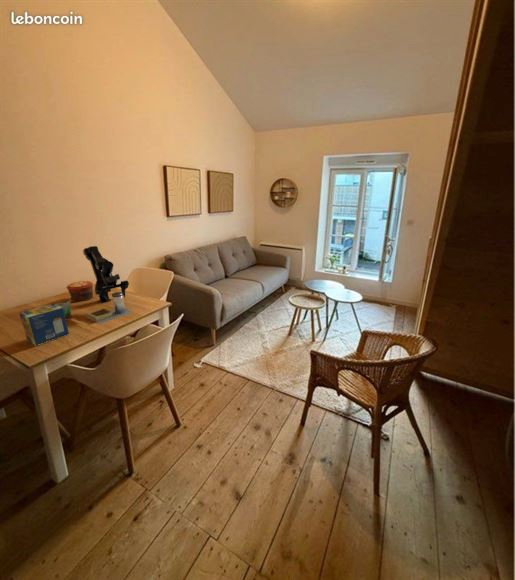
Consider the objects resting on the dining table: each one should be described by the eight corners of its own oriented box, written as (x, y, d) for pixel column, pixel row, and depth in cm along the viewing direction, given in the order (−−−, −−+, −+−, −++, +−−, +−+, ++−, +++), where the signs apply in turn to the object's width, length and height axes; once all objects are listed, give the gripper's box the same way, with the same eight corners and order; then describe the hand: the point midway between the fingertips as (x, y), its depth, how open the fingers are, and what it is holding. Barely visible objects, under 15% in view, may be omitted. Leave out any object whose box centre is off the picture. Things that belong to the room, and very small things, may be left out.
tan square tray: (88, 318, 166) (87, 313, 165) (104, 313, 173) (103, 308, 172) (96, 322, 161) (95, 317, 160) (112, 316, 168) (112, 311, 167)
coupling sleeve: (113, 312, 174) (109, 294, 170) (122, 309, 179) (119, 291, 175) (118, 314, 171) (115, 295, 167) (127, 311, 175) (124, 293, 172)
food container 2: (64, 301, 197) (60, 286, 194) (83, 293, 212) (80, 280, 208) (82, 303, 193) (78, 288, 189) (100, 295, 207) (98, 281, 204)
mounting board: (87, 320, 167) (86, 318, 166) (120, 308, 183) (120, 306, 183) (99, 325, 159) (99, 323, 159) (133, 313, 176) (133, 311, 175)
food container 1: (54, 324, 162) (49, 307, 159) (49, 321, 166) (45, 305, 162) (77, 317, 171) (73, 301, 168) (73, 314, 175) (69, 299, 172)
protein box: (27, 341, 143) (18, 312, 138) (60, 329, 155) (53, 303, 150) (35, 346, 138) (27, 317, 133) (69, 334, 150) (63, 307, 145)
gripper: (92, 273, 166) (101, 295, 162) (125, 267, 178) (134, 288, 174) (91, 283, 174) (100, 305, 170) (123, 277, 186) (131, 297, 182)
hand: (117, 298), depth 173 cm, fingers open, 9 cm apart
